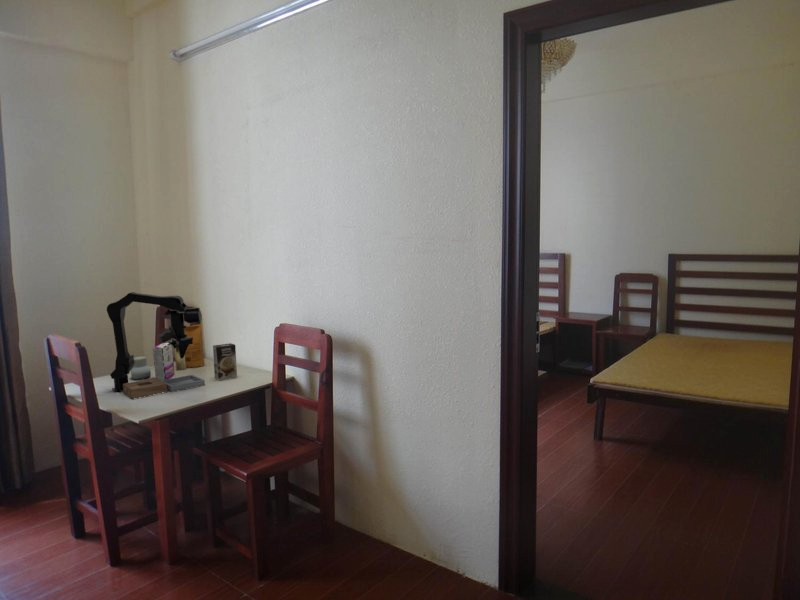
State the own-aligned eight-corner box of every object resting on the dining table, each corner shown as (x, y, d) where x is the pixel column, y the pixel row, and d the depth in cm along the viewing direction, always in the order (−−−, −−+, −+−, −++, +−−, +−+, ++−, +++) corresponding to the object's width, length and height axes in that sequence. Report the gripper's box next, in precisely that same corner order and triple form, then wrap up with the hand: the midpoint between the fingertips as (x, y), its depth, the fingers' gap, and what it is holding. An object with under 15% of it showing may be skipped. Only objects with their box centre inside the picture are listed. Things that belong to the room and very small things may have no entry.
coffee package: (181, 364, 294) (178, 324, 291) (205, 363, 296) (203, 322, 293) (178, 369, 284) (174, 327, 281) (203, 367, 287) (200, 325, 284)
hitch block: (123, 392, 243) (122, 383, 242) (156, 386, 252) (155, 377, 252) (133, 399, 233) (132, 390, 232) (167, 392, 242) (166, 383, 241)
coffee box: (218, 381, 259) (216, 347, 257) (214, 378, 264) (212, 345, 262) (237, 377, 264) (235, 344, 262) (233, 375, 269) (231, 342, 267)
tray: (160, 386, 252) (160, 380, 252) (192, 379, 262) (192, 374, 262) (171, 392, 242) (170, 386, 242) (204, 385, 252) (204, 379, 252)
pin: (175, 369, 251) (173, 348, 250) (183, 367, 254) (182, 346, 253) (178, 371, 248) (176, 349, 247) (187, 369, 251) (185, 347, 250)
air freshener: (151, 379, 266) (149, 358, 264) (132, 381, 262) (130, 361, 261) (149, 374, 275) (147, 354, 274) (131, 376, 271) (129, 356, 270)
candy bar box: (164, 375, 272) (162, 342, 270) (174, 375, 272) (172, 342, 270) (154, 381, 261) (152, 347, 259) (165, 381, 261) (162, 347, 259)
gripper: (152, 324, 250) (154, 357, 252) (166, 328, 236) (169, 364, 238) (176, 320, 257) (179, 353, 259) (192, 325, 244) (194, 359, 245)
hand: (180, 357), depth 250 cm, fingers closed on pin, 4 cm apart
